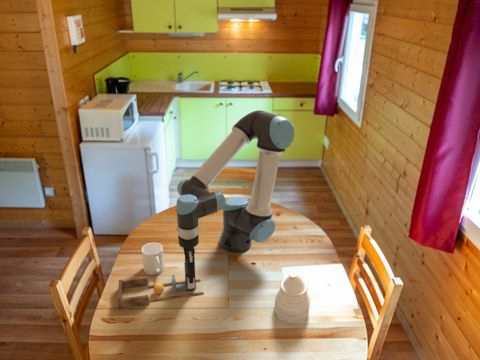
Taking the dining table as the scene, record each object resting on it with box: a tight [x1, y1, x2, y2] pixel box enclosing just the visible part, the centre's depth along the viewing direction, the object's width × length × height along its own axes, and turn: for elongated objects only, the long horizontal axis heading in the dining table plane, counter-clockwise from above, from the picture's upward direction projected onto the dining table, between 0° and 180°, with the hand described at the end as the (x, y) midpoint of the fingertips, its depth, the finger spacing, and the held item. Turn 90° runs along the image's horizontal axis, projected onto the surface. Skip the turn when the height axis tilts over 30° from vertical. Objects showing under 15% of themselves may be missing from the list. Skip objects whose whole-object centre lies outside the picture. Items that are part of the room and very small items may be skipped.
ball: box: [153, 283, 165, 295], centre depth 155 cm, size 4×4×4 cm
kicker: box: [171, 261, 197, 295], centre depth 155 cm, size 9×6×12 cm, turn 103°
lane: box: [147, 278, 204, 303], centre depth 157 cm, size 21×9×1 cm, turn 103°
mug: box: [141, 242, 165, 276], centre depth 166 cm, size 9×12×11 cm
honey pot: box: [273, 271, 311, 324], centre depth 145 cm, size 13×13×18 cm
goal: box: [117, 276, 150, 310], centre depth 153 cm, size 11×12×4 cm
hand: (190, 283), depth 158 cm, fingers closed on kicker, 4 cm apart
